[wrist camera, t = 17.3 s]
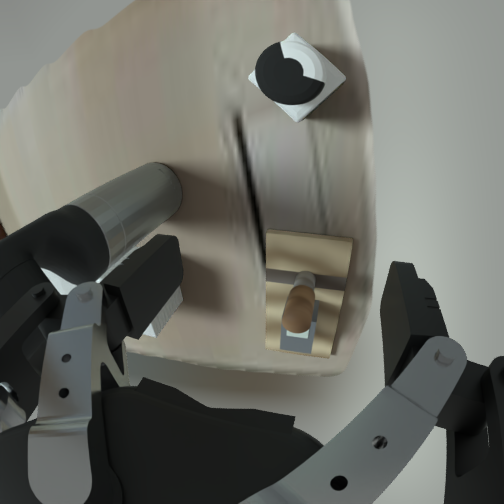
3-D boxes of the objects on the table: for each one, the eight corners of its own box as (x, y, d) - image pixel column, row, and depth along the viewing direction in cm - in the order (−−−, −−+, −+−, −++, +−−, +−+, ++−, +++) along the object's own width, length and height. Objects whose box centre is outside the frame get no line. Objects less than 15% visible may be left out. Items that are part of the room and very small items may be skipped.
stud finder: (314, 332, 47) (310, 354, 43) (285, 327, 49) (279, 349, 44) (319, 300, 44) (316, 323, 40) (287, 296, 45) (281, 318, 41)
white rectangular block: (74, 276, 62) (47, 302, 53) (61, 238, 57) (29, 262, 48) (183, 299, 54) (156, 337, 45) (172, 249, 49) (138, 286, 40)
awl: (301, 292, 44) (291, 336, 36) (289, 274, 43) (276, 317, 35) (322, 283, 42) (316, 328, 34) (310, 265, 41) (301, 308, 33)
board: (329, 353, 51) (329, 358, 50) (266, 344, 54) (265, 349, 53) (352, 238, 39) (352, 242, 38) (267, 229, 42) (265, 232, 41)
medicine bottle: (304, 119, 33) (290, 128, 23) (262, 81, 32) (229, 74, 22) (345, 82, 29) (350, 73, 19) (301, 43, 28) (285, 18, 18)
